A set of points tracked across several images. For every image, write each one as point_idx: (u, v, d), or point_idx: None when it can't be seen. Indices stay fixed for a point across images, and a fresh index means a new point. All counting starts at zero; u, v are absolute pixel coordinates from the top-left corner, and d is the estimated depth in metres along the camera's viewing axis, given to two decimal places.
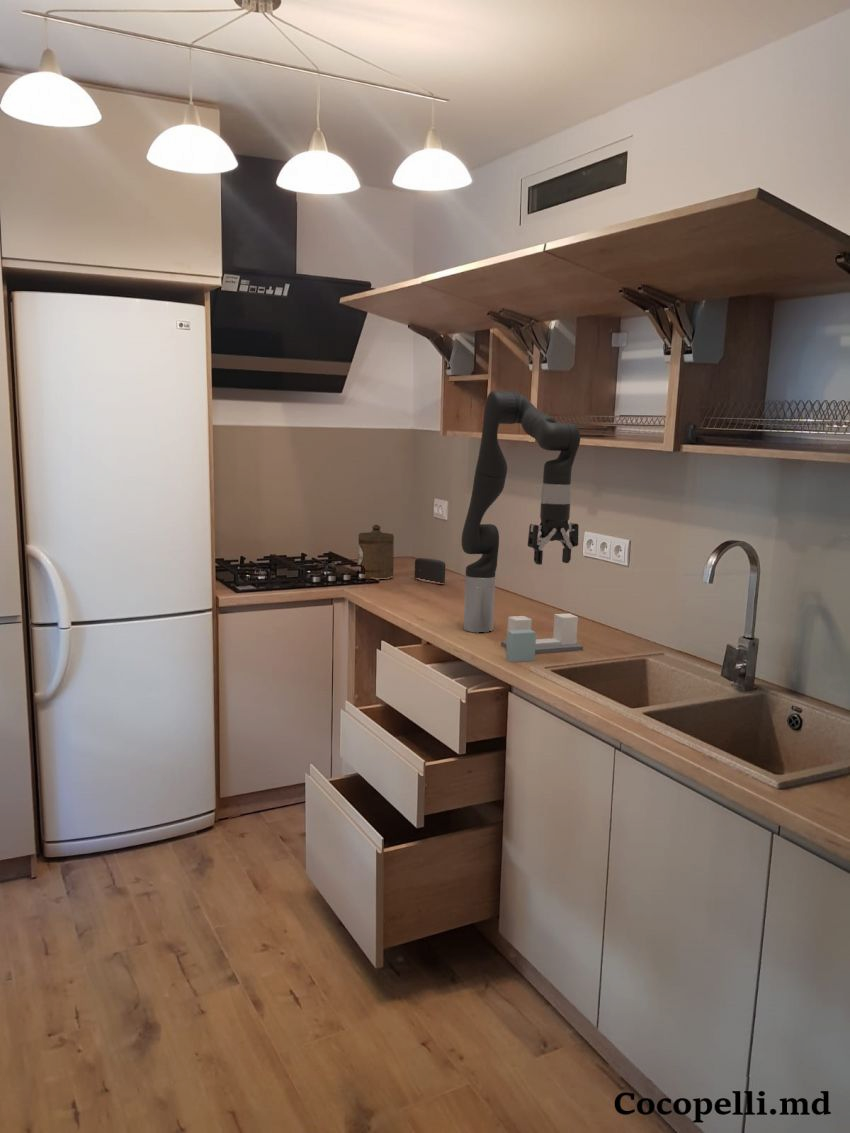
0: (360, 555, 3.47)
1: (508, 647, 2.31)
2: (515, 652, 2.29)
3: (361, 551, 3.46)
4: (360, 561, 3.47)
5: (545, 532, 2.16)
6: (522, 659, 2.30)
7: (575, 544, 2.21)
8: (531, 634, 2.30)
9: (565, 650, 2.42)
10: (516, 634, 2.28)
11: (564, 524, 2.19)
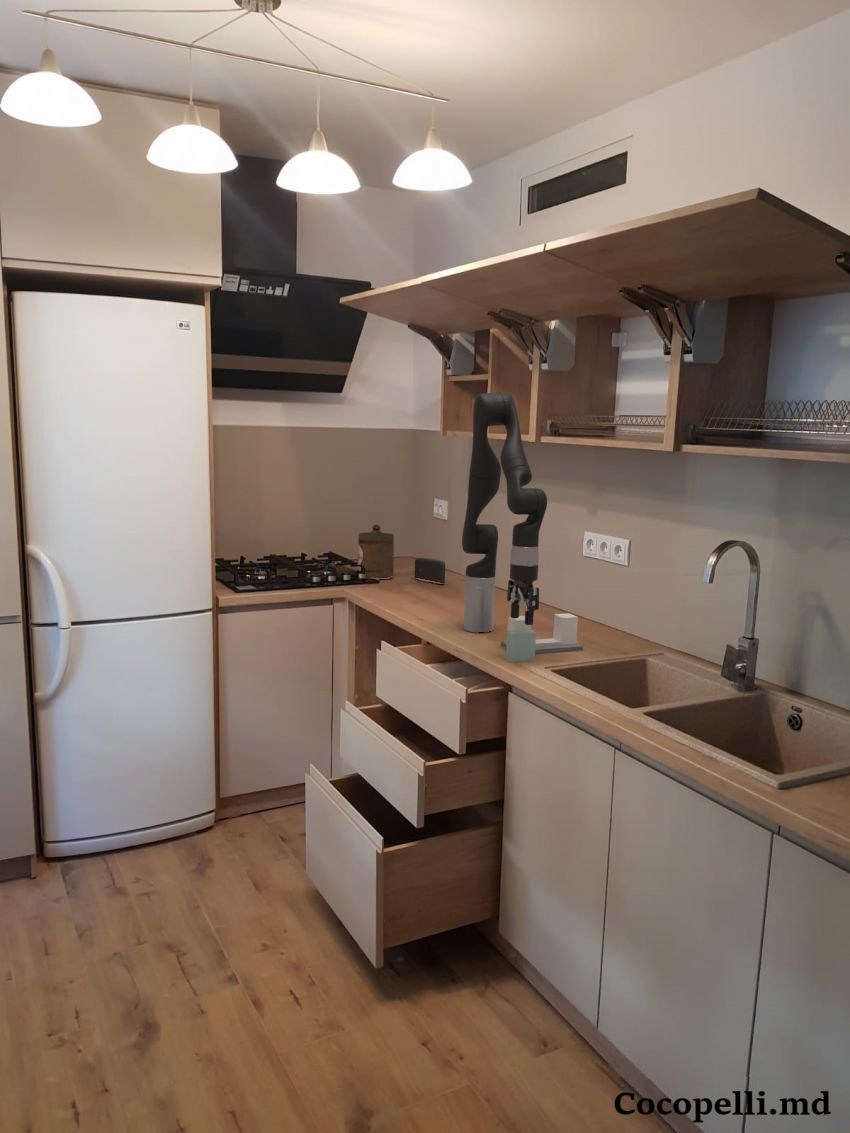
0: (360, 555, 3.47)
1: (508, 647, 2.31)
2: (515, 652, 2.29)
3: (361, 551, 3.46)
4: (360, 561, 3.47)
5: None
6: (522, 659, 2.30)
7: None
8: (531, 634, 2.30)
9: (565, 650, 2.42)
10: (516, 634, 2.28)
11: None
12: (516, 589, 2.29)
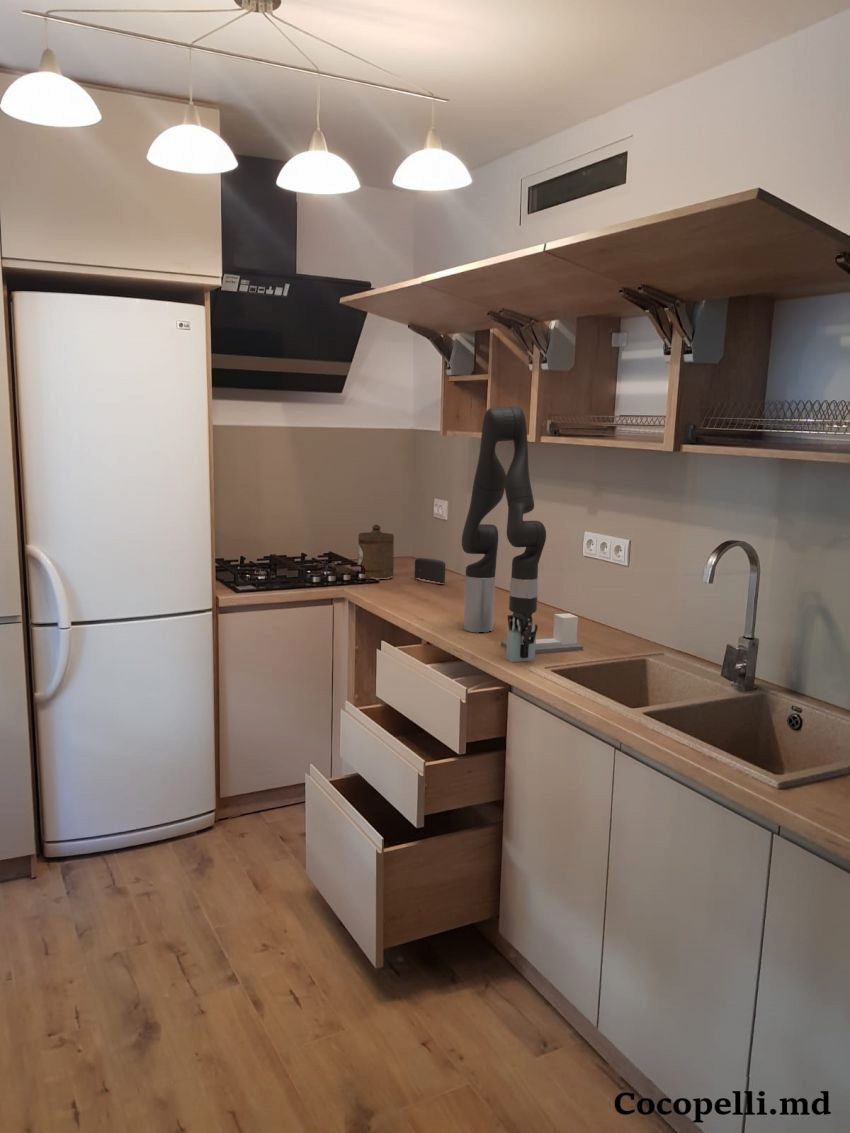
0: (360, 555, 3.47)
1: (508, 647, 2.31)
2: (515, 652, 2.29)
3: (361, 551, 3.46)
4: (360, 561, 3.47)
5: None
6: (522, 659, 2.30)
7: None
8: None
9: (565, 650, 2.42)
10: (516, 634, 2.28)
11: None
12: (515, 620, 2.30)
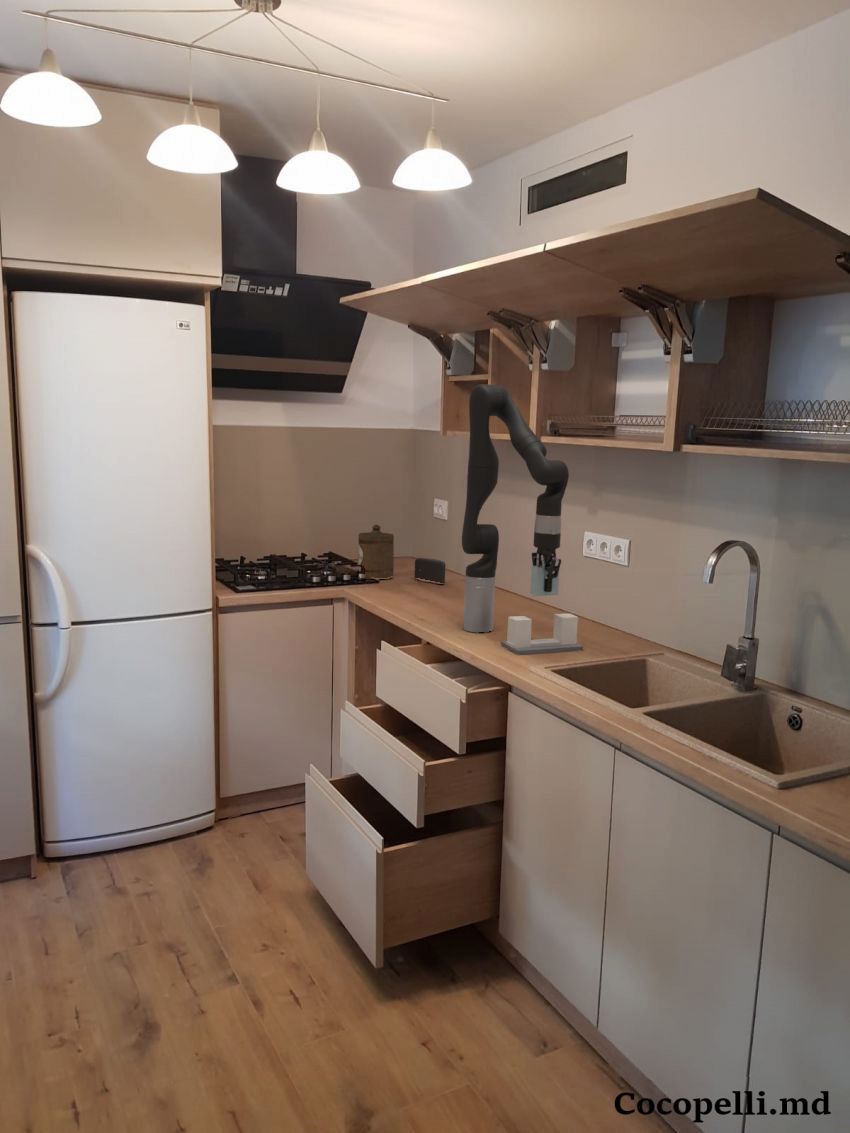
0: (360, 555, 3.47)
1: (532, 582, 2.42)
2: (539, 586, 2.40)
3: (361, 551, 3.46)
4: (360, 561, 3.47)
5: None
6: (546, 593, 2.41)
7: None
8: None
9: (565, 650, 2.42)
10: (540, 569, 2.39)
11: None
12: (539, 555, 2.41)
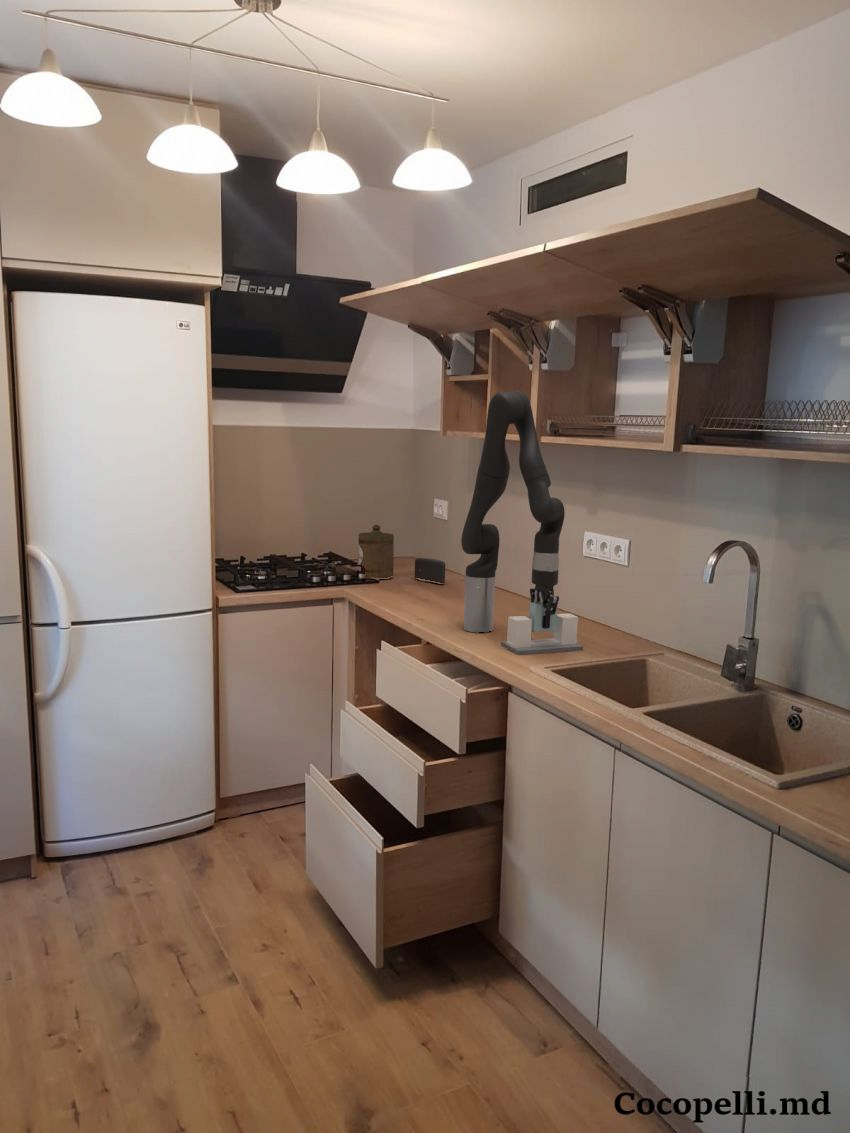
0: (360, 555, 3.47)
1: (530, 618, 2.43)
2: (537, 622, 2.41)
3: (361, 551, 3.46)
4: (360, 561, 3.47)
5: None
6: (544, 629, 2.42)
7: None
8: None
9: (565, 650, 2.42)
10: (538, 605, 2.41)
11: None
12: (538, 592, 2.43)
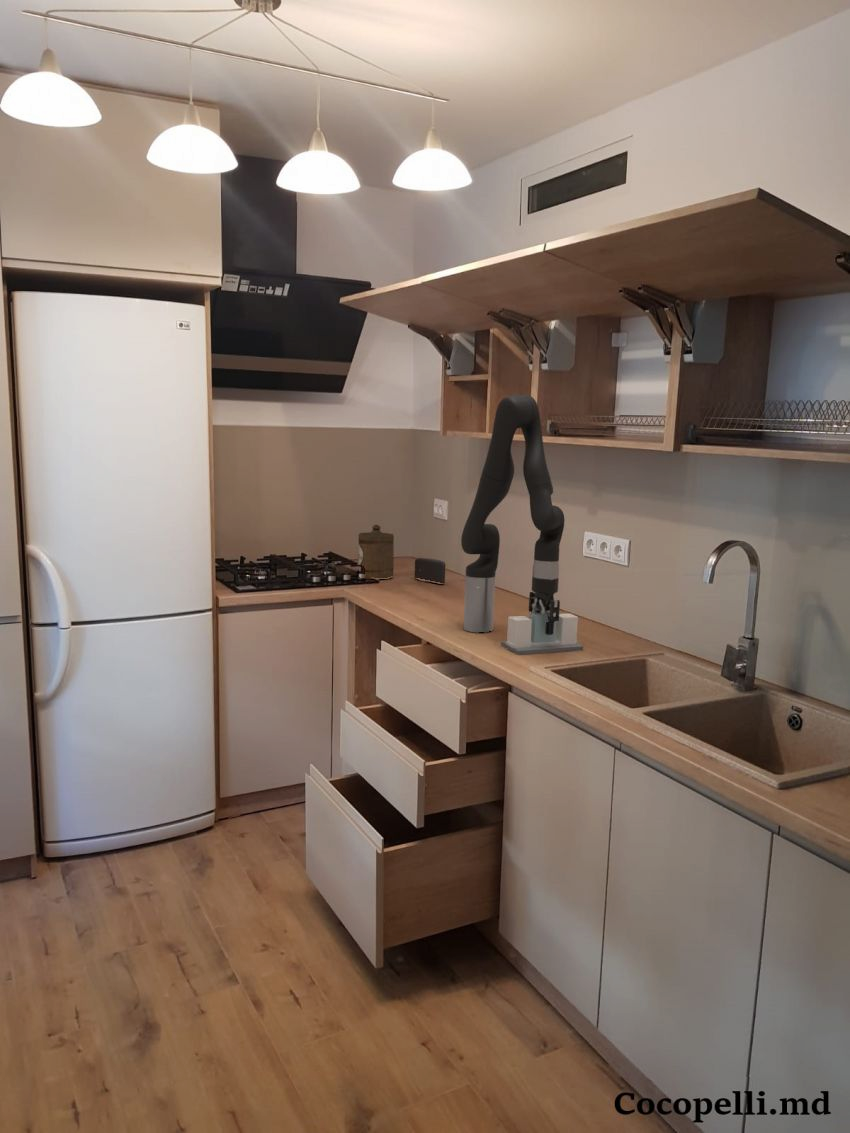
0: (360, 555, 3.47)
1: None
2: (537, 633, 2.42)
3: (361, 551, 3.46)
4: (360, 561, 3.47)
5: None
6: (544, 640, 2.43)
7: None
8: None
9: (565, 650, 2.42)
10: (538, 616, 2.41)
11: None
12: (537, 600, 2.43)
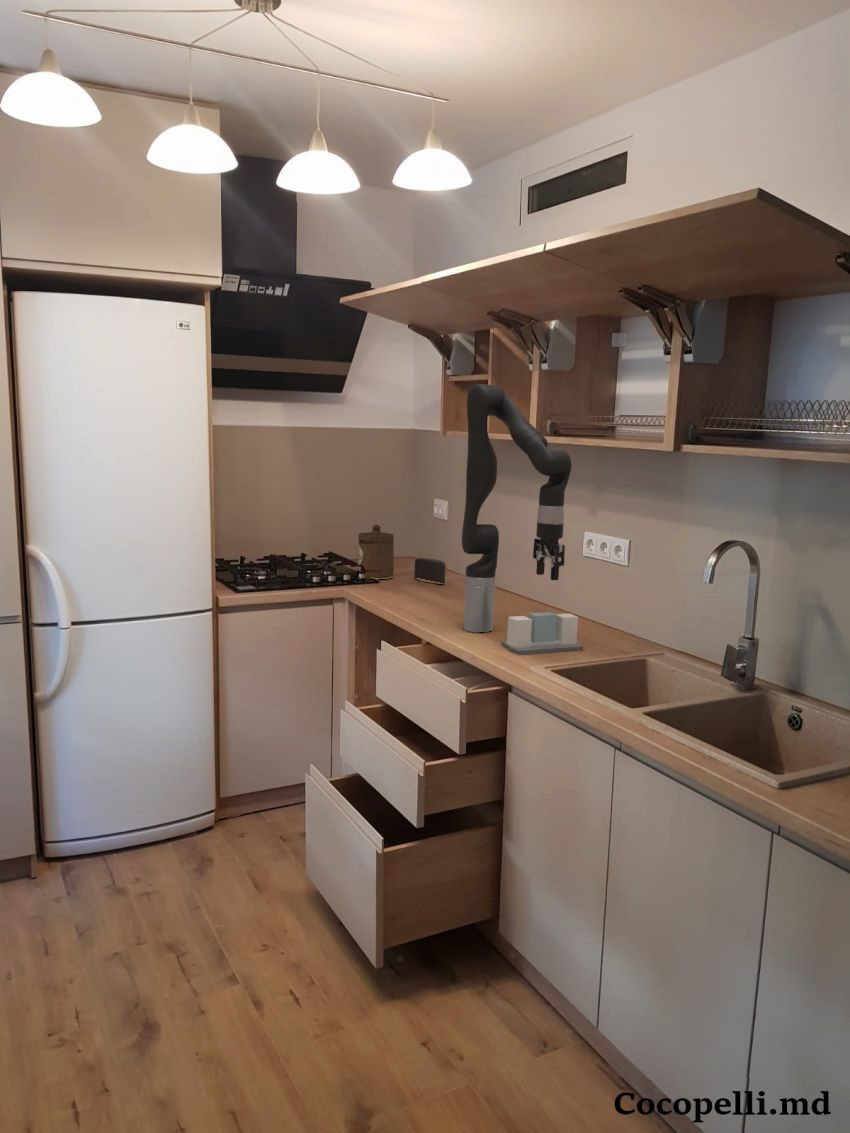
0: (360, 555, 3.47)
1: None
2: (537, 633, 2.42)
3: (361, 551, 3.46)
4: (360, 561, 3.47)
5: None
6: (544, 640, 2.43)
7: None
8: (552, 617, 2.43)
9: (565, 650, 2.42)
10: (538, 616, 2.41)
11: None
12: (542, 547, 2.42)
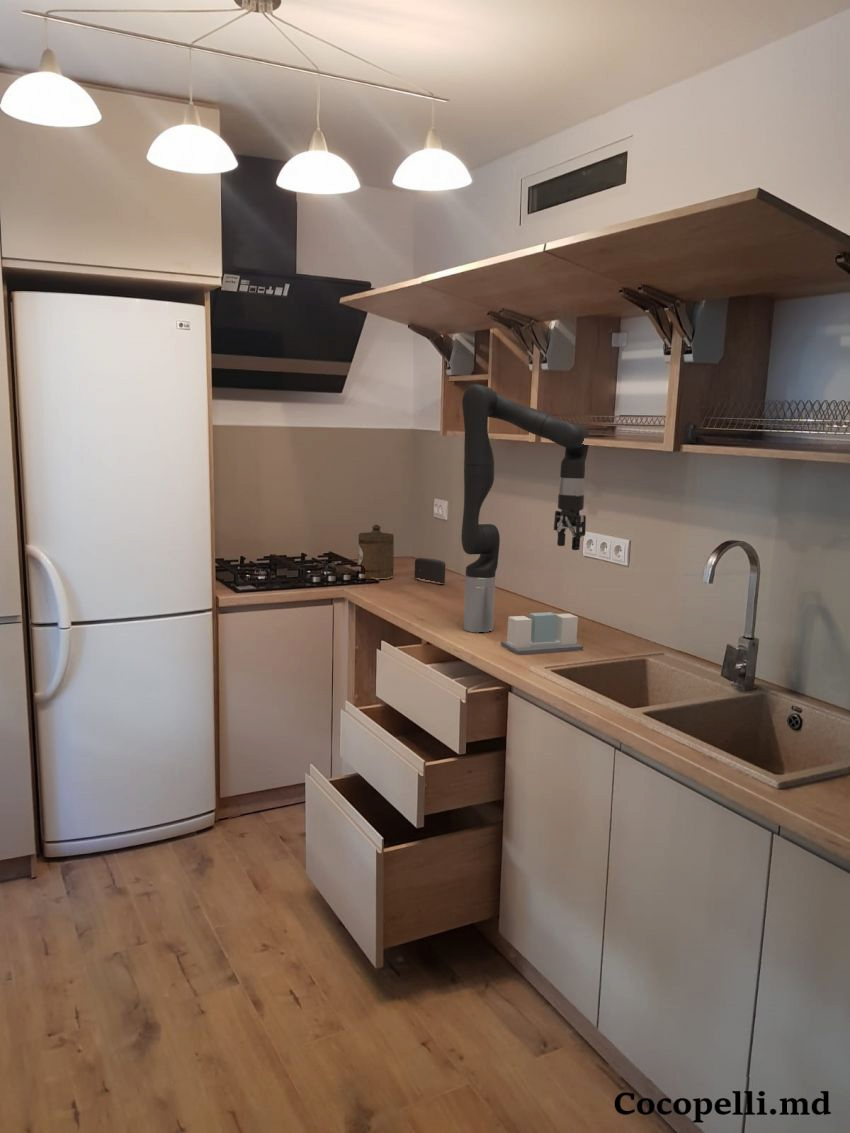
0: (360, 555, 3.47)
1: None
2: (537, 633, 2.42)
3: (361, 551, 3.46)
4: (360, 561, 3.47)
5: None
6: (544, 640, 2.43)
7: None
8: (552, 617, 2.43)
9: (565, 650, 2.42)
10: (538, 616, 2.41)
11: None
12: (563, 518, 2.50)
